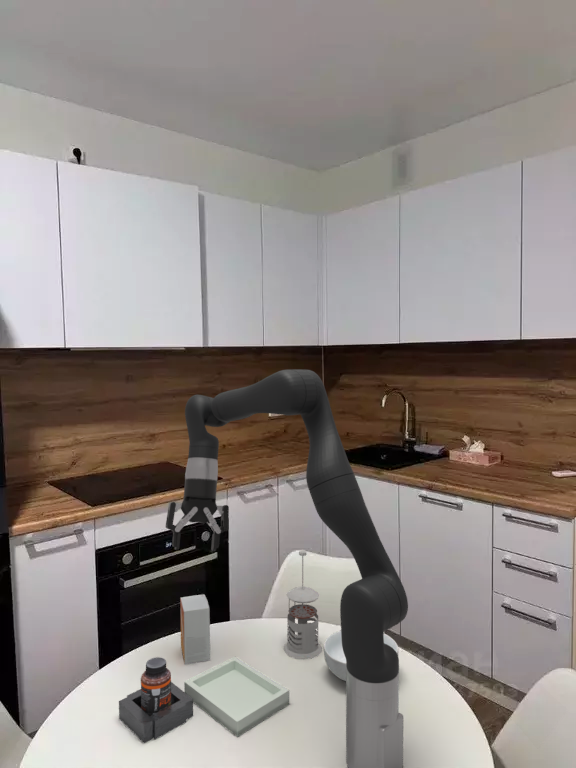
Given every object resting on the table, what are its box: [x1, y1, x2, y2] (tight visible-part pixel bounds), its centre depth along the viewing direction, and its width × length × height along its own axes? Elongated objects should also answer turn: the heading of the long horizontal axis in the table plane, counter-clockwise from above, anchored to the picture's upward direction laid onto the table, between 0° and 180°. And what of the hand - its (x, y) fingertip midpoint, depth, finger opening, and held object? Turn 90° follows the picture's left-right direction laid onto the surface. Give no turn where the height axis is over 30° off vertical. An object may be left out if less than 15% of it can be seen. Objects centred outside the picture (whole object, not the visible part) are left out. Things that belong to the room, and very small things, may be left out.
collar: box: [118, 681, 194, 744], centre depth 107 cm, size 11×11×4 cm
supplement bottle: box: [140, 656, 172, 716], centre depth 107 cm, size 6×6×11 cm
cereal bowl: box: [323, 629, 399, 682], centre depth 121 cm, size 17×17×7 cm
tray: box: [183, 656, 290, 738], centre depth 112 cm, size 18×14×3 cm
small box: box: [179, 594, 211, 665], centre depth 130 cm, size 8×6×13 cm
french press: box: [282, 549, 323, 660], centre depth 133 cm, size 10×12×25 cm
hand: (195, 550), depth 121 cm, fingers open, 8 cm apart
